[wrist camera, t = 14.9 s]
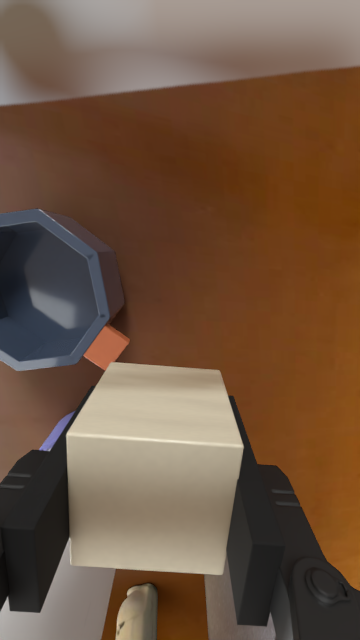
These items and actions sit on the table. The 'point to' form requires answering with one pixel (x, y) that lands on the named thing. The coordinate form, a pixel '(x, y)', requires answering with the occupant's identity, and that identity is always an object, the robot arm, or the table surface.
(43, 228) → the bowl
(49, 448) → the container
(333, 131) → the table surface
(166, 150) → the table surface
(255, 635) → the pillar candle
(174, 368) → the block
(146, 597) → the off-white long rounded piece
